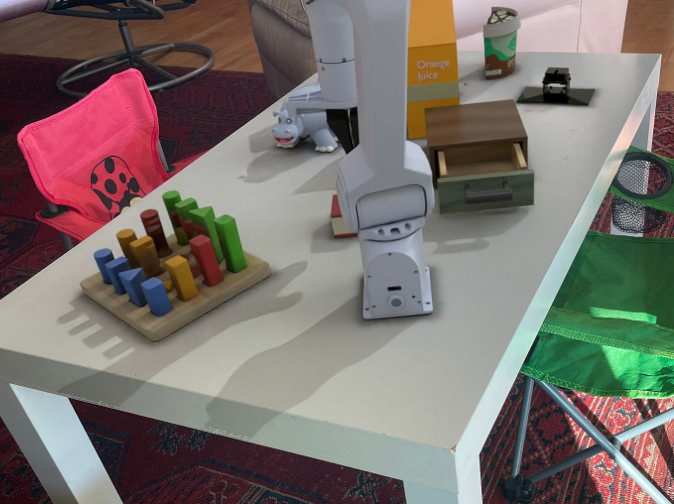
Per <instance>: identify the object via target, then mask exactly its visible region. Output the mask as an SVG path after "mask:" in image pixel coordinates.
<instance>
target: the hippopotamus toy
mask: <svg viewBox="0 0 674 504" xmlns="http://www.w3.org/2000/svg"><path fill="white" fill-rule="evenodd" d="M315 73H316V74H318V71H315ZM317 76H318V75H317ZM319 90H321V88H320V82H319V76H318V77H317V80H316V85H308V86H305V87H301V88H299V89H296V90H294V91H293V92H291V93H290V94H289V95H288V96H287V97H291V96H297V95H302V94H306V93H311V92H315V91H319ZM287 97H285V99H284V101H283V102H282V104H281V106H280V111H279V110H276V109H275V110H273V111H272V116H273V117H274V118H276V117H278V118H277V122H278V124H276V125H275V126H274V127H273V128H272V129H271V130H272V133H271V135H272V136H273V140H274V142H275V143H277V144H276V147H278V148H283V149H289V148H290V149H292V148H294V147H296V146H297V145H298V144H299V143H300V140H301V139H306V138H307V137H308V136H309V137H311V139H312V140H313V142H314V143H315V145H316V146H315V149H314V150H315V151H319V152H321V153H325V152H327V153H331V152H333V151H334V150H335V149H337V148H338V147H339V144H338V142H339V140H338V139H337V137H336V136H335V134H334V133H333V131H332V130H331V129H330V128H329V126H328V124H327V121H326V119H327V117H326V112H321V113H312V114H303V115H298V116H297V117H294V118H289V117H288V112H287V108H286V99H287ZM339 143H340V142H339Z"/></svg>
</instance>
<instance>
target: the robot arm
mask: <svg viewBox="0 0 674 504" xmlns="http://www.w3.org/2000/svg"><path fill="white" fill-rule="evenodd" d="M302 1H303V2H304V3H305V6H306V7H305V8H306V13H307V18H308V25H309V29H310V35H311V41H312V47H313V53H314V59H315V64H316V70H317V71H316V72H318V73H317V76H319V82H320V88H321V90H319V91H315V92H311V93H306V94H302V95H297V96H291V97H288V96H286V98H287V99H286V98H285V99H286V108H287V112H288V117H289V118H294V117H297V116H298V115H303V114H312V113H321V112H326V117H327V119H326V121H327V124H328V126H329V128H330V129H331V130H332V131H333V133H334V134H335V136H336V137H337V139H338V140H339V143H340V145H341V147H342V149H343V151H344V153H345V155H344V156H343V157H342V158H341V159H340V160H339V161H338V162H337V165H338V166H337V167H338V168H337V169H336V180H335V190H336V191H335V192H336V194H337V197H338V202H339V206H340V210H341V214H342V218H343V221H344V224H345V226H346V228H347V229H349V230H351V232H352V233H354V232H358V236H357V238H358V244H359V249H360V255H361V261H362V262H361V263H362V268H363V269H362V270H363V274H364V275H363V300H362V303H363V304H362V318H363V319H364V320H376V319H384V318H396V317H405V316H415V315H417V316H418V315H424V314H425V315H426V314H431V313H433V311H434V308H433V296H432V285H431V275H430V268H429V266H427V265H426V259H425V248H424V239H423V229H422V228H423V227H426V217H430V216H431V214H432V212H433V210H434V208H435V204H436V203H435V202H436V201H435V191H434V190H435V189H434V188H433V184H432V171H431V168H430V163H429V159H428V158H427V155H426V153H425V152H424V151H423V149H422V148H421V146H420V145H419V144H417V143H415V142H412V141H410V140H407V55H408V27H409V16H410V5H411V0H302Z"/></svg>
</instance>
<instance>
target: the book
mask: <svg viewBox="0 0 674 504" xmlns="http://www.w3.org/2000/svg"><path fill="white" fill-rule="evenodd" d="M330 220H331V226H332V229H333V236H334V239H341V238H351V237H358V232H354V233H352V232H351V230H349V229H347V228H346V226H345V224H344V221H343V218H342V214H341V210H340V206H339V202H338V197H337V193H336V194H332V199H331V208H330Z"/></svg>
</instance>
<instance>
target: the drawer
mask: <svg viewBox="0 0 674 504" xmlns="http://www.w3.org/2000/svg"><path fill="white" fill-rule="evenodd" d="M437 156H438V169H439V176H440V178H439V179H437V185H438V188H437V194H438V208H439V215H448V214H449V215H450V214H460V213H468V212H479V211H489V210H497V209H498V210H499V209H508V208H509V209H510V208H518V207H529V206H534V205H535V171H534V168H529V169H528V170H527V165H526V162H525V160H524V157H523V154H522V151H521V148H520V145H519V142H511V143H501V144H491V145H481V146H472V147H462V148H452V149H442V150H437Z"/></svg>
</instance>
